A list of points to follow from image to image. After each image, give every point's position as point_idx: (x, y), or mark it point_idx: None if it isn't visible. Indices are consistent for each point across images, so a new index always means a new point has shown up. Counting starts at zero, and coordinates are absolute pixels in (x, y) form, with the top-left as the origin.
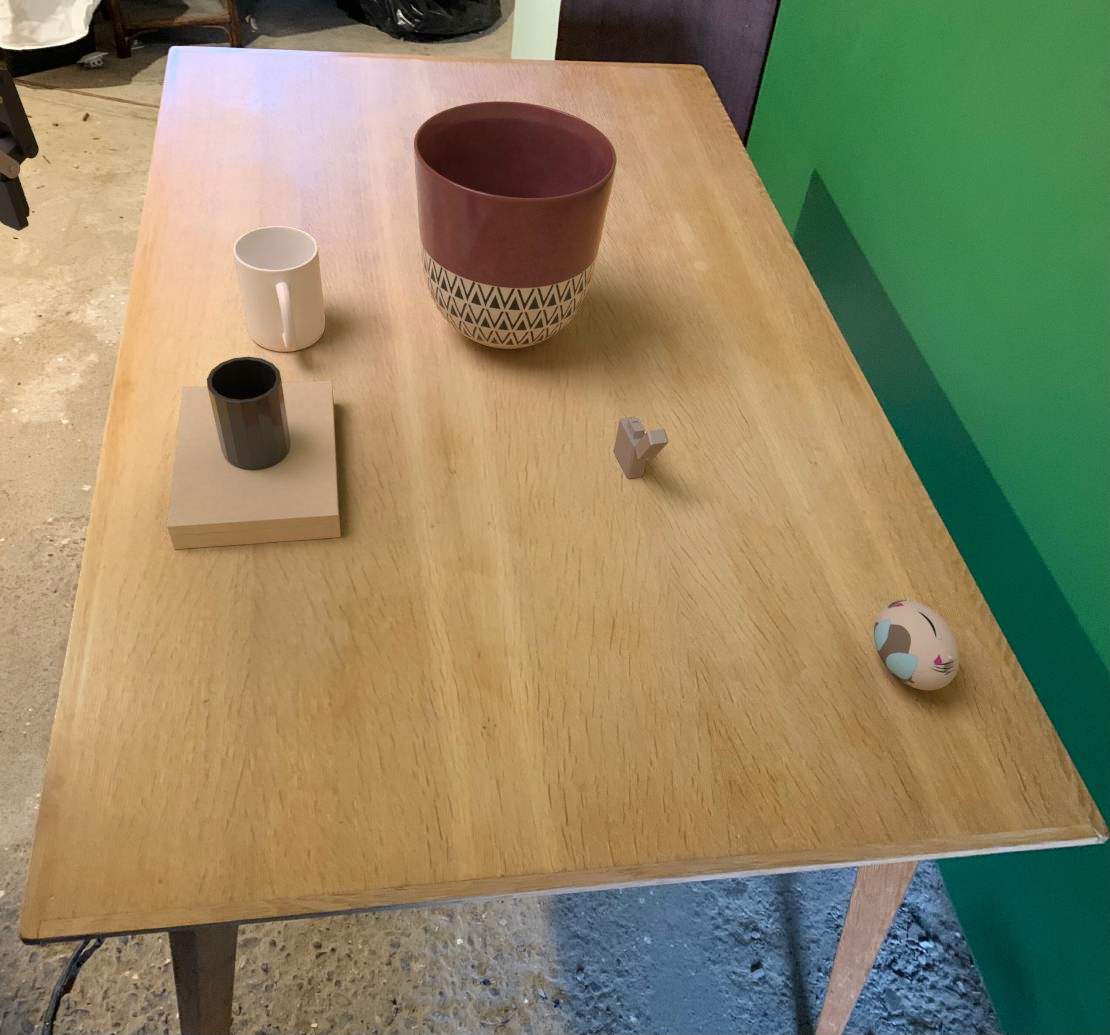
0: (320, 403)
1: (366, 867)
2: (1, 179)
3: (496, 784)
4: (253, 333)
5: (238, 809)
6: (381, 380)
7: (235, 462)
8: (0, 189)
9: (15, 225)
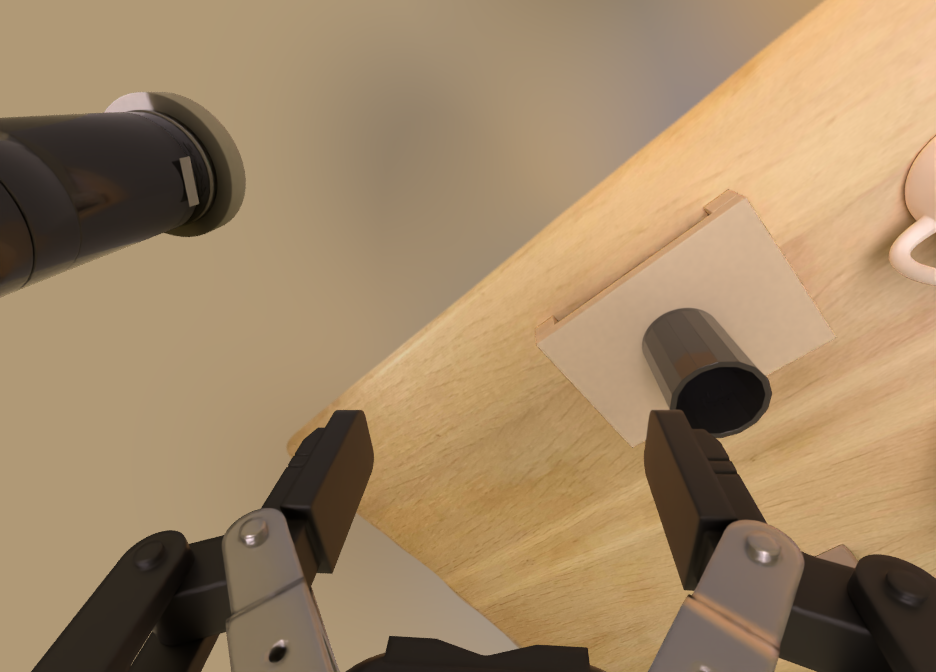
0: (785, 351)
1: (417, 548)
2: (697, 573)
3: (498, 575)
4: (927, 164)
5: (397, 488)
6: (882, 338)
7: (643, 349)
8: (677, 540)
9: (647, 461)
